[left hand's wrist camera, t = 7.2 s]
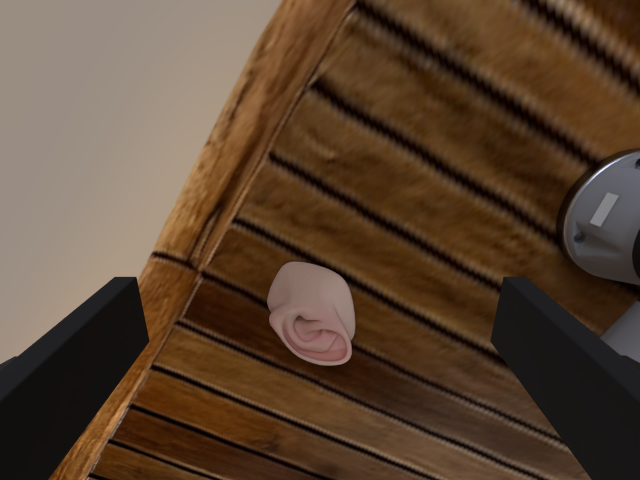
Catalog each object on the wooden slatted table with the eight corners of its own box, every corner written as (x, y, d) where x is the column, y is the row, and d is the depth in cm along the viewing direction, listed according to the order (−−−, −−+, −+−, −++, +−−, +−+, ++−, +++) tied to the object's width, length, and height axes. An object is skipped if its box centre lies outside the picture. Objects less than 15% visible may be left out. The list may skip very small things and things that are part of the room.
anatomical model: (259, 275, 40) (361, 275, 40) (265, 261, 43) (357, 261, 43) (266, 369, 44) (356, 369, 44) (270, 349, 48) (354, 349, 48)
